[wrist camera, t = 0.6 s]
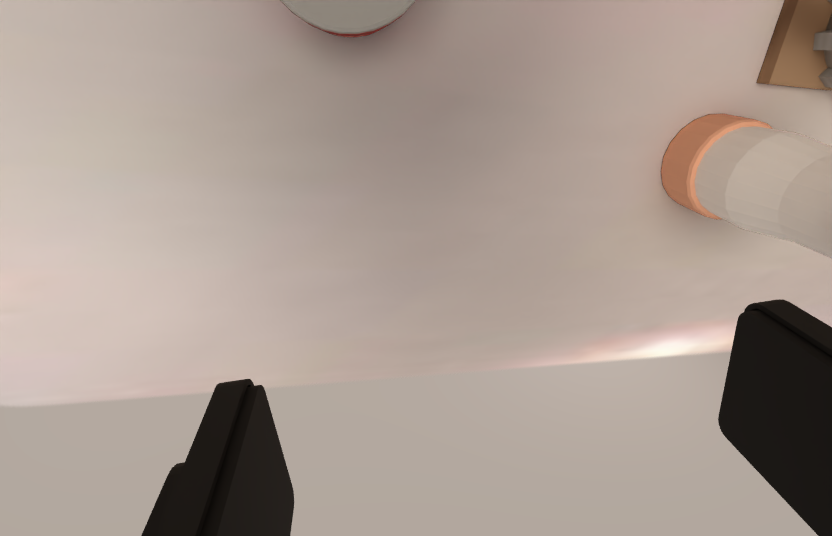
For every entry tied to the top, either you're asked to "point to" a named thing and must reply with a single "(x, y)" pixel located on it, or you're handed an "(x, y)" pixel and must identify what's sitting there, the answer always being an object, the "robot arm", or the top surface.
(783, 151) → the pepper shaker
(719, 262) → the top surface
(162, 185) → the top surface
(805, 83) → the gear board
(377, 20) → the canned food
